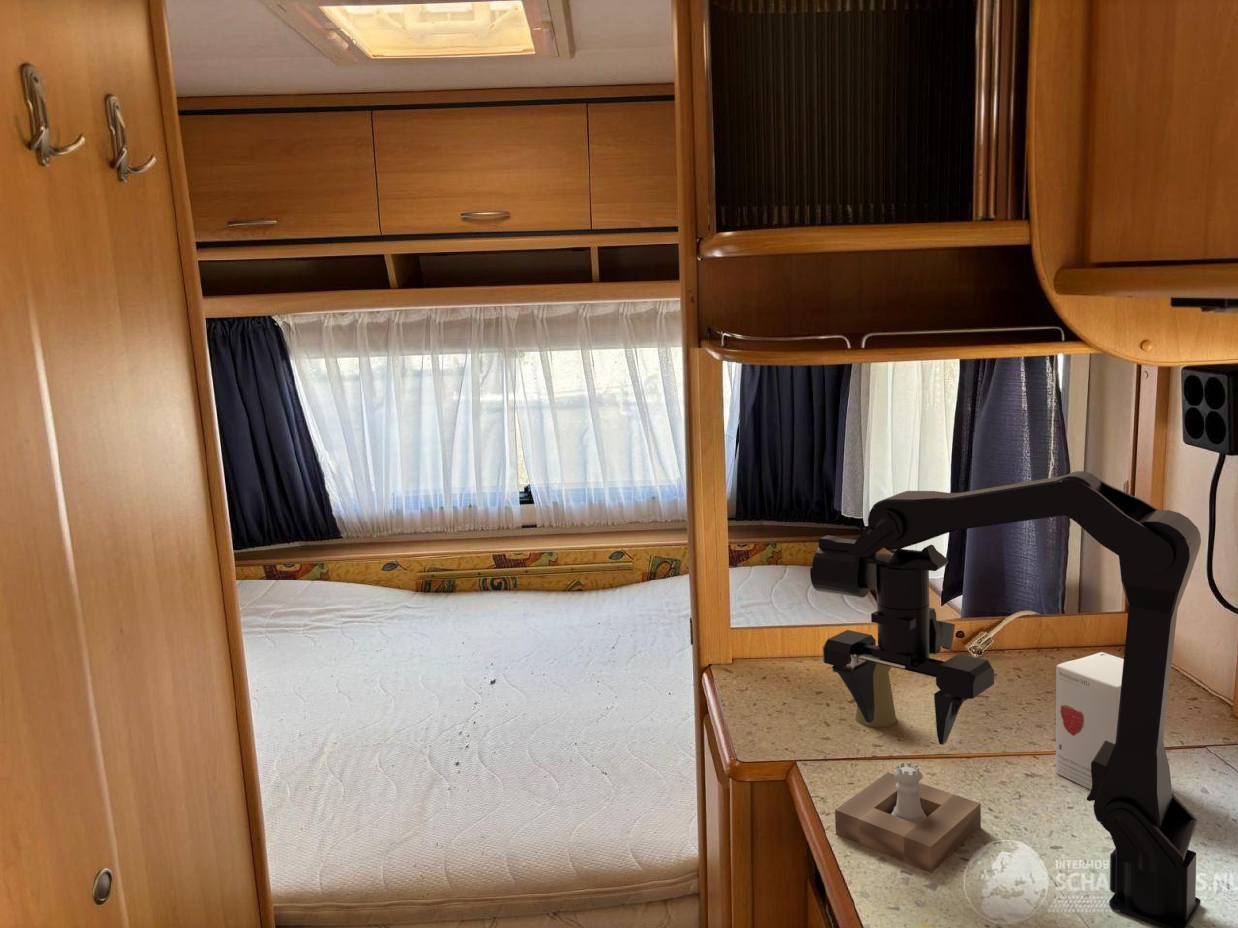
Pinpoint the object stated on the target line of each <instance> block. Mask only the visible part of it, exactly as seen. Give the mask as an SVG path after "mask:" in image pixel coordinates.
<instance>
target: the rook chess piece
mask: <svg viewBox="0 0 1238 928" xmlns="http://www.w3.org/2000/svg"><path fill="white" fill-rule="evenodd" d="M892 774H894V776H895V778H896V779H897V781H898V783H897V784H896V788H897V791H898V795H897V803H896V807H894V810H893V812H892V813H891V815H894V816H896V817H899V818H902V819H904V820H907V821H910V822H912V823H915V824H919V823H920V822H922V821H923V820H924V819H925V818H926V815H925V814H924V811H923V809H922V808H921V803H920V797H919V791H920V789H921V787H920V785H919V783H920V781H921V780H922V779H923V777H924V776H923V774H922V772H921V771H920V767H919V765H918V764H916V763H915V764H913V766H912V762H909V761H907V762H906V765H905V763H904V762H903V761H902V762H899V764H896V769H895V770H894V771H893V773H892Z"/></svg>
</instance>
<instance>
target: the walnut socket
mask: <svg viewBox="0 0 1238 928" xmlns="http://www.w3.org/2000/svg"><path fill="white" fill-rule="evenodd" d="M897 783H898V781H897V779H896V778H895V776H894V774H893V773H891V772H889V771H888V772H886V773H884V774H883V775H882V776H880V777H878V779H876V780H875V781H873V782H872V783H870V784H869V785H868V786H866V787H865V788H863V789H861V790H860V791H859V792H858V793H856V794H855V795H853V796H852V797H851V798H849V799H847V800H846V801H845V802H844V803H842V804H841V805H839V806H838V807H837V808H835V809H834V817H835V819H834V821H835V822H834V823H835V824H834V825H835V835H838V836H841V837H843V838H846V839H847V840H848V839H849V840H851V841H853V842H855V843H859V844H861V845H863V846H865V847H868V848H870V849H873V850H875V851H878V852H880V853H882V854H884V855H887V856H890V857H892V858H893V859H897V860H900V861H901V862H904V863H907V864H909V865H911V866H914V867H916V868H919V869H921V870H923V871H926V872H929V873H933V872H934V871H935V870H936V869H937V868H939V866H940V865H942V864H943V863H944V862H945V861H946V860H947V859H948V858H949V857H950V856H952V854H954V853H955V852H956V851H957V850H958V849H959V848H961V846H963V844H965V843H966V841H968V840H969V839H970V838H971V837H972V836H973V835H974V834H976V833H977V832H978V830H980V829H981V828H982V818H981V817H982V815H981V812H982V809H981V808H982V807H981V802H977V801H975V800H971V799H969V798H966V797H963V796H960V795H956V794H954V793H950V792H948V791H945V790H942V789H939V788H936V787H933V786H930V785H927V784H924V783H921V782H919V785H920V787H921V789H920V791H919V797H920V803H921V808H922V809H923V811H924V814H925V815H926V818H925V819H924V820H923V821H922V822H920V823H919V824H915V823H912V822H910V821H907V820H904V819H902V818H899V817H896V816H894V815H891V813H892V812H893V810H894V807H896V803H897V795H898V791H897V788H896V784H897Z"/></svg>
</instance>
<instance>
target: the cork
mask: <svg viewBox="0 0 1238 928" xmlns="http://www.w3.org/2000/svg"><path fill="white" fill-rule="evenodd" d="M891 669H892V667H891V666H887V665H883V664H879V663H877V664H876V667H875V670H874V674H873V682H874V705H875V711H874V720H873V721H872V722H871V723H867V722H866V720H865V718H864V717H863V715H862V713H861V711H860V709H859V707H858V705H857V704H856V709H855V711H856V712H855V721H856V722H858V723H859V724H861V725H863V726H866V727H870V728H887V727H891V726H893V725H895V724H896V722H897V715H896V710H895V704H894V702H895V701H894V697H893V691H892V690H893V689H892V685H891V679H890V673H889V672H890V671H891Z"/></svg>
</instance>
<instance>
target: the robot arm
mask: <svg viewBox="0 0 1238 928" xmlns="http://www.w3.org/2000/svg"><path fill="white" fill-rule="evenodd" d="M1062 516H1063V517H1064V516H1066V518H1067V517H1068V518H1069V519H1070V520H1072V521H1074V522H1075V523H1077V525H1079V527H1080V528H1081V529H1083V530H1084V531H1085V532H1086V533H1087V534H1089V535H1090V536H1091V537H1092V538H1093V539H1094V540H1096V541H1097V543H1099V545H1101V546H1103V547H1104V548H1106V549H1108V551H1110V552H1112V553H1113V554H1115V555H1116V556H1118V561H1119V562H1118V563H1119V570H1120V579H1121V584H1122V589H1123V593H1124V596H1125V600H1126V603H1127V609H1128V611H1127V612H1128V614H1127V624H1126V633H1125V635H1126V636H1125V643H1124V651H1123V652H1124V653H1123V654H1124V655H1123V659H1124V662H1123V672H1122V682H1121V692H1120V702H1119V712H1118V722H1117V733H1116V742H1115V744H1113V743H1111V742H1108V741H1104V743H1103V744H1102V746H1101V748H1100V749H1099V751H1098V752H1097V754H1096V756H1095V757H1094V759H1093V760H1092V762H1091V776H1092V789H1091V790H1090V792H1089V793H1088V795H1087V797H1086V801H1087V802H1093V814H1094V817H1095V819H1096V821H1097V822H1098V823H1100V824H1101V826H1102V827H1103V828H1104V830H1106V831H1107V832H1108V833H1109V834H1110V837H1111V840H1112V842H1113V845H1114V847H1115V848H1114V850H1112V852H1111V853H1110V855H1109V859H1110V860H1109V890H1110V892H1111V893H1113V895H1112V897H1111V898H1110V899H1109V901H1108V903H1109V904H1108V905H1109V907H1110V908H1111V909H1113V910H1116V911H1118V912H1121V913H1124V914H1127V915H1129V916H1131V917H1135V918H1136V919H1139V920H1142V921H1144V922H1147V923H1150V924H1153V925H1155V926H1158V927H1160V928H1188V927H1189V925H1190V923H1191V922H1192V920H1193V918H1195V915H1196V913H1197V912H1198V910H1199V908H1200V907H1201V899H1200V898H1198V897H1196V884H1197V883H1196V881H1197V852H1195V851H1193V850H1190V849H1189V848H1190V843H1191V841H1192V838H1193V835H1194V833H1195V830H1196V826H1197V824H1198V819H1197V818H1196V816H1194V814H1193V813H1192V812H1191V811H1190V810H1189V809H1187V807H1186V806H1185V805H1184V804H1183V803H1182V802H1181V801H1180V800H1179V799H1178V798H1177V797H1176V796H1175V795H1174V794H1173V789H1172V779H1171V768H1170V764H1169V759H1168V756H1167V752H1166V747H1165V745H1164V744H1165V743H1164V742H1163V738H1164V737H1165V726H1166V720H1167V719H1166V718H1167V708H1168V701H1169V700H1168V699H1169V692H1170V691H1169V690H1170V681H1171V674H1172V673H1171V672H1172V663H1173V657H1174V656H1173V654H1174V645H1175V637H1176V626H1177V620H1178V619H1177V617H1178V610H1179V606H1180V604H1181V601H1182V598H1183V596H1184V593H1185V591H1186V588H1187V586H1188V583H1189V580H1190V578H1191V575H1192V571H1193V569H1194V566H1195V563H1196V560H1197V557H1198V554H1199V551H1200V549H1201V545H1202V544H1201V543H1202V539H1201V533H1200V530H1199V528H1198V526H1196V525H1195V523H1193V521H1192V520H1190V519H1189V517H1188V516H1185V515H1183V514H1182V513H1180V512H1178V511H1173V510H1170V509H1164V510H1163V509H1162V510H1161V509H1158V508H1156V507H1155V506H1153V505H1151V504H1150V503H1149V502H1146V501H1145V500H1142V499H1141V498H1139V497H1137V496H1134V495H1133V494H1130V493H1127V492H1125V491H1123V490H1122V489H1119V488H1117V487H1115V486H1112V485H1110V484H1108V483H1107V482H1105V481H1103V480H1101V479H1100V478H1098V476H1096V475H1094V474H1093V473H1091V472H1088V471H1083V470H1080V471H1079V470H1076V471H1071V472H1070V473H1069V474H1065V475H1061V476H1060V475H1059V476H1055V477H1054V476H1053V477H1049V478H1041V479H1037V480H1030V481H1024V482H1018V483H1013V484H1007V485H1000V486H993V487H987V488H981V489H976V490H975V489H974V490H968V491H964V492H946V491H945V492H944V491H938V490H937V491H936V490H905V491H902V492H899V493H896V494H894V495H892V496H889V497H886V498H884V499H882V500H879V501H877V502H875V503H874V504H873V506H872V507H871V508H870V511H869V513H868V517H867V526H866V528H865V529H864V530H863V531H862V533H861V534H860V535H859V536H858V538H857V539H853V538H852V539H851V538H842V537H838V536H834V535H824V536H822V537H820V538H819V539H818V548H817V550H816V552H815V553H814V556H813V559H812V564H811V566H810V569H809V573H810V575H809V576H810V582H811V584H812V587H813V588H814V589H815V591H817V592H821V593H829V594H833V595H834V594H836V595H840V596H841V595H843V596H848V597H849V596H850V597H857V598H865V597H866V596H867V595H869V593H870V591H874V590H875V589H876V611H874V612H872V613H871V614H870V617H871V619H870V620H871V621H870V622H871V623H874V624H877V640H876V639H875V638H874V635H872V634H868V633H863V632H860V631H855V630H850V629H846V630H844V631H843V632H840V633H838V634H836V635H833V636H831V637H829V638H828V639H827V640H825V642H824V644H823V646H822V663H824V664H826V665H827V664H828V665H831V667H832V668H831V669H832V672H834V673H837V674H838V675H839V677H840V678H841V680H842V682H843V683H844V684H845V687H847V690H849V692H850V694H851V696H852V698H853V700H854V702H855V703H856V706H857V705H858V707H859V709H860V711H861V713H862V715H863V717H864V718H865V720H866V722H867V723H871V722H872V721H873V720H874V711H875V705H874V682H873V674H874V670H875V667H876V664H877V663H879V664H883V665H887V666H891V668H894V669H895V668H896V669H899V670H904V671H909V672H912V673H916V674H919V675H925V676H929V677H932V678H935V685H936V687H937V688H938V689H939V690H938V691H936V692H935V693H933V698H934V710H935V711H934V712H935V714H934V715H935V725H936V726H935V727H936V736H937V740H938V743H939V745H942V746H943V745H945V744H946V743H947V741H948V740H949V737H950V736H951V735H950V734H951V732H952V730H953V726H954V724H955V722H956V718H957V716H958V714H959V711H960V709H961V708H962V706H963V703H964V702H966V701H967V700H969V699H970V700H973V699H975V698H976V697H978V696H979V695H981V694H982V693H984V692H985V691H986V690H988V689H989V688H991V687H992V686H994V685H995V669H994V668H993V666H992V665H991V663H990V662H989V660H988V659H985V658H979V657H975V656H969V655H965V654H962V653H957V654H956V655H954V656H952V657H950V658H949V659H947V660H945V661H944V660H938V659H935V658H931V655H932V654H933V655H938V654H939V653H940V652H942V649H945V650H949V651H952V647H953V642H954V637H955V635H954V634H955V628H956V624H955V623H951V622H946V621H941V620H937V613H936V612H937V611H936V608H933V607H930V571H931V572H938V570H940V569H941V568H943V567H945V566H947V565H948V563H949V559H948V558H947V557H946V556H944V555H943V554H942V553H941V552H939V551H938V550H937V549H936V547H935V545H934V544H929V545H927V546H925V547H923V548H922V550H916V549H915V550H914V549H907V548H908V547H911V546H913V545H918V544H920V543H923V542H926V541H929V540H931V539H934V538H937V537H940V536H943V535H945V534H948V533H951V532H955V531H961V530H968V529H973V528H974V529H975V528H982V527H983V528H984V527H989V526H996V525H1004V524H1005V525H1006V524H1011V523H1019V522H1025V521H1032V520H1033V521H1034V520H1041V519H1048V518H1055V517H1056V518H1057V517H1062ZM884 549H886V550H895V551H893V553H892V554H890V553H879V552H880V551H882V550H884ZM876 641H877V644H876Z"/></svg>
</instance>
